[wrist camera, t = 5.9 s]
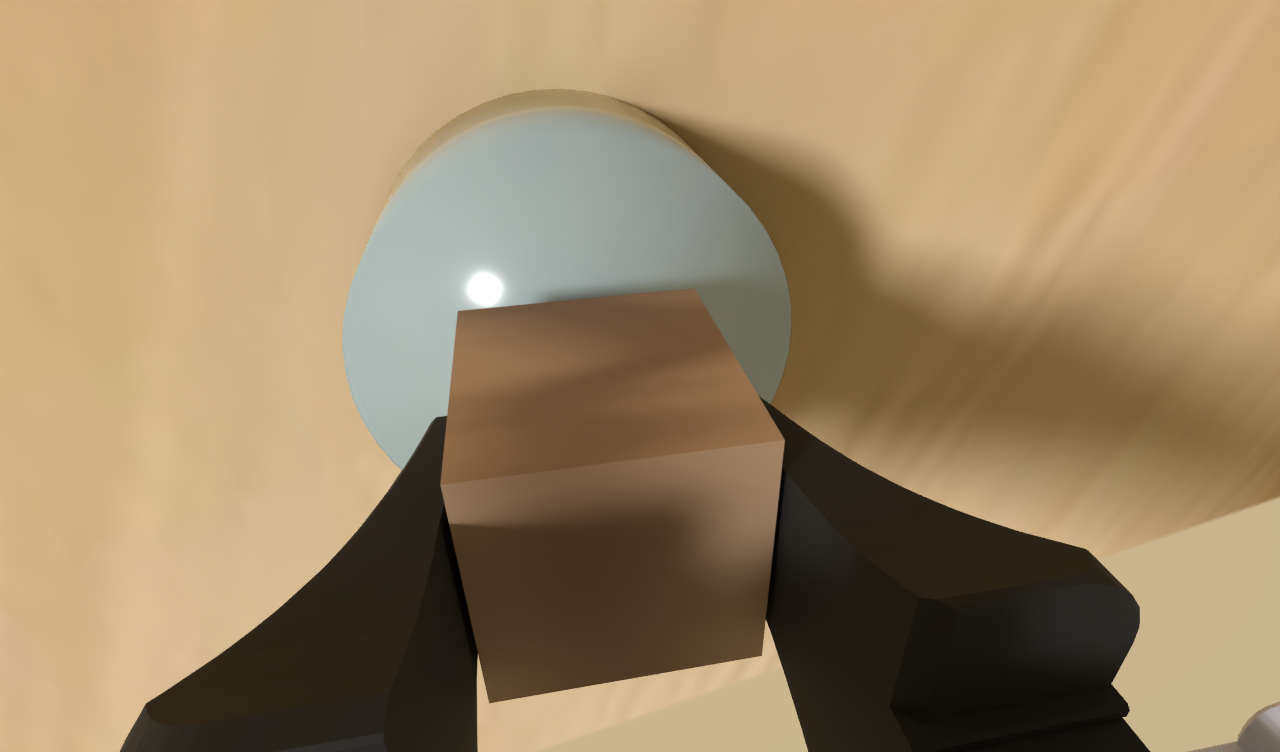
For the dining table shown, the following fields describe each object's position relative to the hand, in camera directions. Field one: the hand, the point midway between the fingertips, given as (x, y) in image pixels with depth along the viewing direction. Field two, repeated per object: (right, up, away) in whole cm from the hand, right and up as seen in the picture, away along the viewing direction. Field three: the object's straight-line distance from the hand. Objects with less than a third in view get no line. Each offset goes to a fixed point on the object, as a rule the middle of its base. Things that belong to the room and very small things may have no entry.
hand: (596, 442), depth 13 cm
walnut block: (0, +1, +1) cm, 2 cm away
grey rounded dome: (-1, +4, +7) cm, 8 cm away
